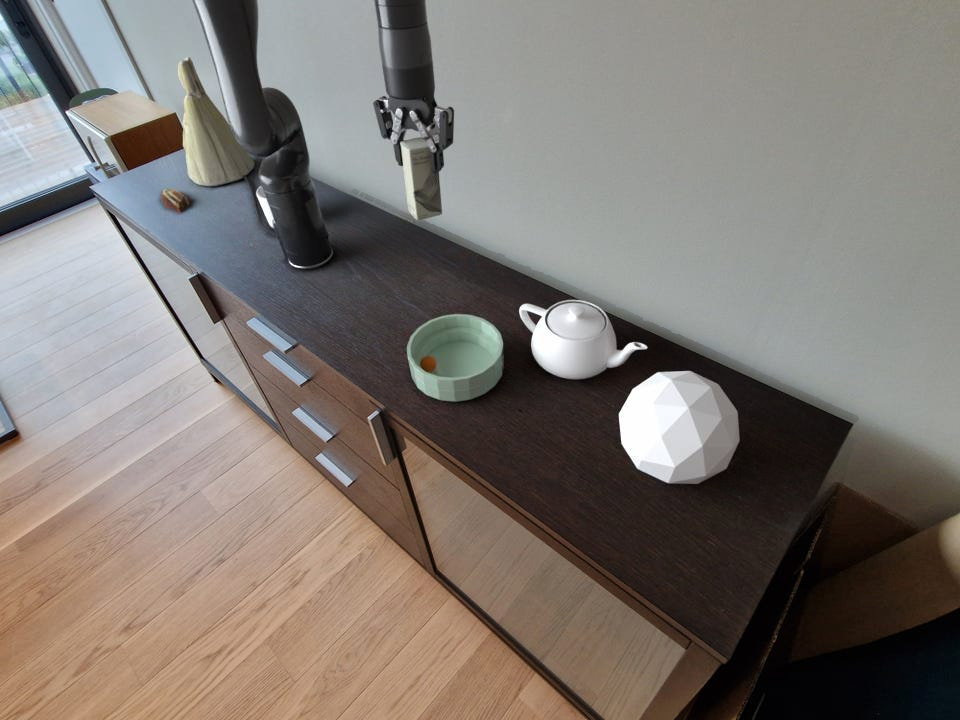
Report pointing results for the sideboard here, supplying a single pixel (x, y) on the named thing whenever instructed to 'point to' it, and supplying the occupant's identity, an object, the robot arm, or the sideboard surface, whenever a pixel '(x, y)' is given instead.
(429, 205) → the box
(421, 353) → the bowl
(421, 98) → the robot arm
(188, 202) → the brown striped bar
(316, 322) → the sideboard surface
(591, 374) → the teapot
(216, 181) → the sculpture
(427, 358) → the ball
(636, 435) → the geometric shape
